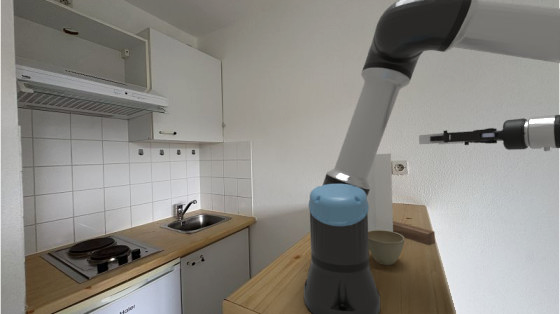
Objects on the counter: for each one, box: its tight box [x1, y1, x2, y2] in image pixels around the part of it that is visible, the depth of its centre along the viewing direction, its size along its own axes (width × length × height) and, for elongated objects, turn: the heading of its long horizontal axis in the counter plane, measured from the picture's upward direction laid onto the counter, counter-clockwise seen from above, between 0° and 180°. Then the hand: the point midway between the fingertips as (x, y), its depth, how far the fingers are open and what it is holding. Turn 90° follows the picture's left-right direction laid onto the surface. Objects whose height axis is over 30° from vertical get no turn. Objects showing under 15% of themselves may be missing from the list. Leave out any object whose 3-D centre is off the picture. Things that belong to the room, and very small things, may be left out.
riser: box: [367, 152, 394, 232], centre depth 82 cm, size 10×14×30 cm
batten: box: [393, 220, 436, 246], centre depth 84 cm, size 4×24×4 cm, turn 29°
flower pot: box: [368, 230, 405, 266], centre depth 63 cm, size 10×10×7 cm
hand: (429, 140), depth 72 cm, fingers open, 13 cm apart
